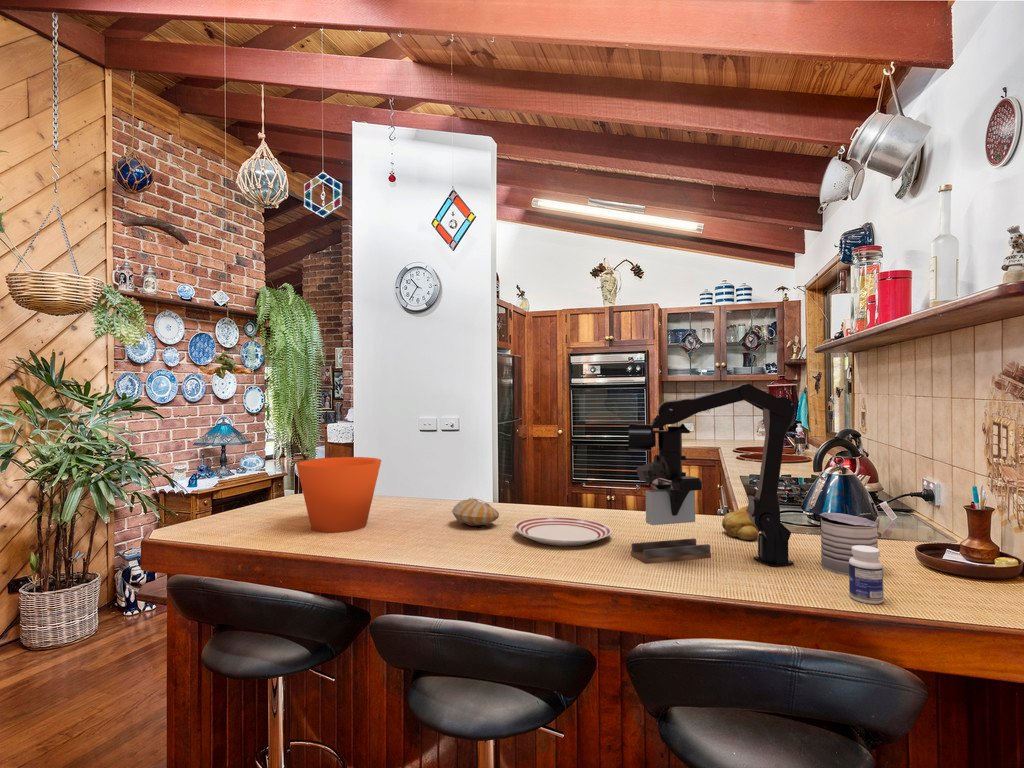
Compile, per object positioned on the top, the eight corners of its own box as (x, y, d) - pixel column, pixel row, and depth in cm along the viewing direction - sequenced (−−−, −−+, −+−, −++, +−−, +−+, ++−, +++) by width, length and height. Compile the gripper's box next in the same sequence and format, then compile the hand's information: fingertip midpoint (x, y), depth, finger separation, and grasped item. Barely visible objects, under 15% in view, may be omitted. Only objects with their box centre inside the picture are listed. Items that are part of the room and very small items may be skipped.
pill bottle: (851, 591, 112) (851, 542, 113) (885, 598, 109) (884, 547, 109) (847, 600, 108) (846, 548, 108) (882, 607, 104) (881, 554, 105)
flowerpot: (298, 520, 177) (298, 458, 178) (378, 515, 185) (378, 455, 185) (292, 539, 154) (292, 468, 154) (384, 533, 161) (384, 464, 161)
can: (825, 558, 135) (825, 509, 136) (881, 567, 128) (880, 515, 128) (816, 570, 126) (815, 517, 127) (875, 580, 119) (874, 524, 120)
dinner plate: (608, 527, 168) (608, 516, 168) (616, 553, 141) (616, 540, 141) (518, 525, 171) (518, 514, 171) (509, 550, 144) (509, 537, 144)
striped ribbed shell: (461, 516, 185) (505, 520, 183) (444, 527, 164) (494, 532, 162) (462, 492, 186) (506, 496, 184) (446, 500, 164) (496, 504, 162)
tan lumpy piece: (764, 543, 150) (764, 513, 150) (726, 541, 152) (726, 511, 152) (755, 531, 162) (754, 504, 162) (720, 530, 164) (719, 503, 164)
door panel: (688, 519, 140) (687, 487, 141) (695, 522, 138) (694, 489, 138) (645, 522, 137) (645, 490, 137) (652, 525, 134) (651, 492, 134)
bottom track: (693, 549, 143) (693, 538, 143) (711, 557, 136) (710, 545, 136) (631, 555, 138) (630, 543, 138) (645, 563, 131) (645, 550, 131)
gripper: (623, 448, 145) (623, 508, 144) (661, 456, 127) (662, 524, 126) (661, 447, 148) (661, 506, 147) (703, 454, 130) (704, 521, 129)
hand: (670, 514), depth 137 cm, fingers closed on door panel, 3 cm apart
